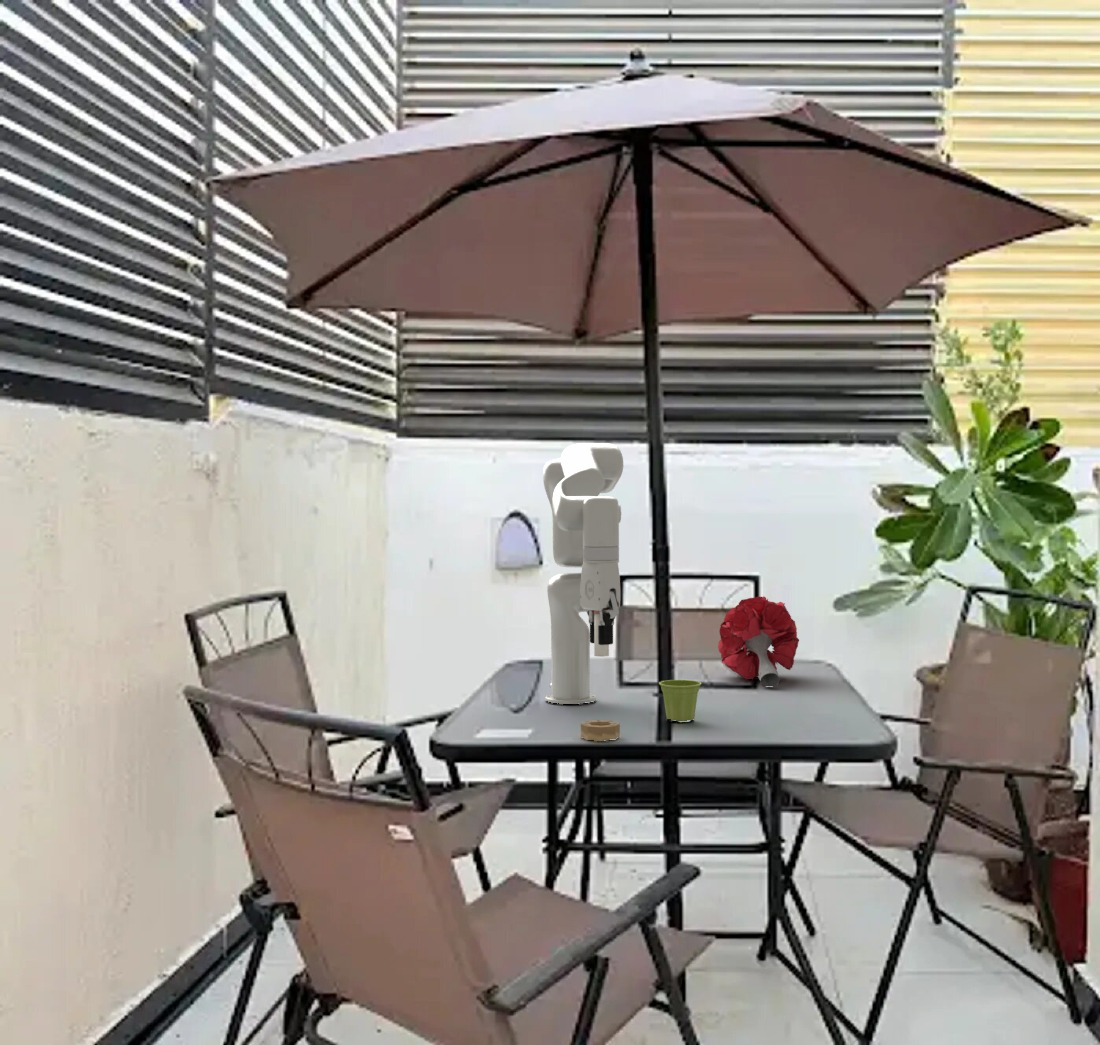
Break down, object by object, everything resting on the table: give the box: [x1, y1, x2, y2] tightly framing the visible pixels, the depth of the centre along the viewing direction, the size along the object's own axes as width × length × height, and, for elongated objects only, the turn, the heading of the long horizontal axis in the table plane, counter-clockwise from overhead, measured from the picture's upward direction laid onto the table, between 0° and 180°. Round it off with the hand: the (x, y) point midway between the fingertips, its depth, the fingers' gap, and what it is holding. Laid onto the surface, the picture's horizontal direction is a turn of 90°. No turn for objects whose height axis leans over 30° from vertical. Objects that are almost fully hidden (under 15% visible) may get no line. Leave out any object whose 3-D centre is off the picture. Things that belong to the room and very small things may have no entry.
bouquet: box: [717, 596, 800, 687], centre depth 326 cm, size 22×24×30 cm
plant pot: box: [658, 679, 702, 721], centre depth 268 cm, size 9×9×9 cm
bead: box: [580, 719, 621, 742], centre depth 249 cm, size 8×8×3 cm
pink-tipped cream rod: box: [593, 608, 610, 658], centre depth 250 cm, size 3×3×10 cm
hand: (601, 642), depth 250 cm, fingers closed on pink-tipped cream rod, 3 cm apart
